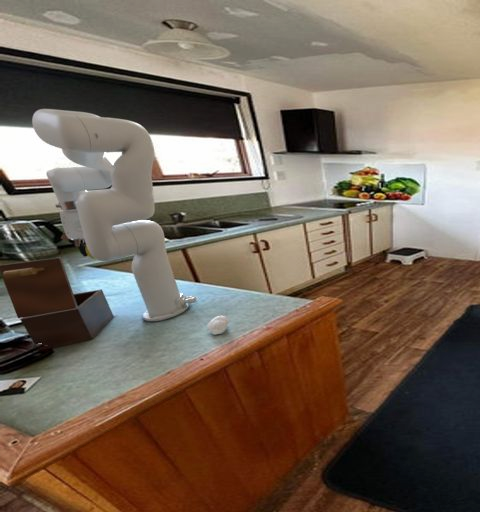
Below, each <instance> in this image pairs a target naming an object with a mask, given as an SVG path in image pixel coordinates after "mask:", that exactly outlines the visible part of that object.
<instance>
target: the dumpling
mask: <svg viewBox="0 0 480 512" xmlns="http://www.w3.org/2000/svg"><path fill="white" fill-rule="evenodd" d="M228 324H229V318H228V317H227V316H225V315H217V316H215V317H214V318H212V319H211V320H209V322H208V323H207V325H206V329H207V330H208V331H210V333H211V334H212V335H214V336H215V335H222V334H223V333H225V332H226V330H227V328H228Z"/></svg>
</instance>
